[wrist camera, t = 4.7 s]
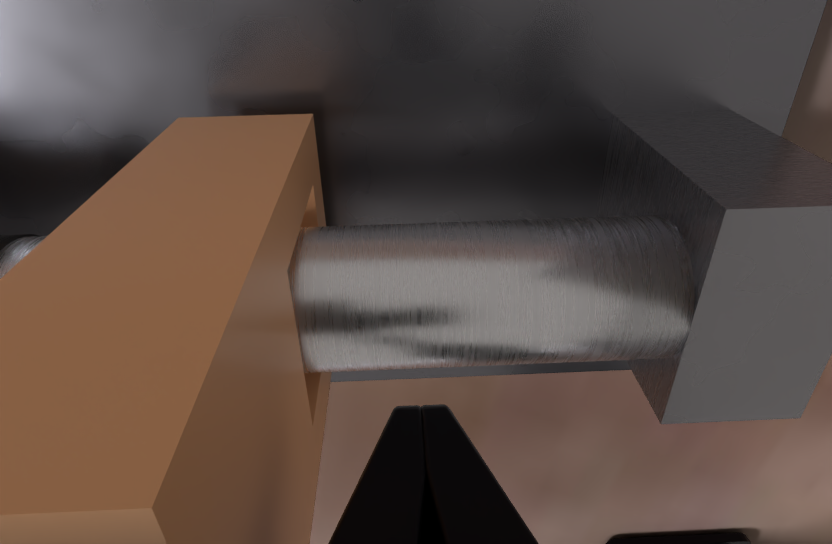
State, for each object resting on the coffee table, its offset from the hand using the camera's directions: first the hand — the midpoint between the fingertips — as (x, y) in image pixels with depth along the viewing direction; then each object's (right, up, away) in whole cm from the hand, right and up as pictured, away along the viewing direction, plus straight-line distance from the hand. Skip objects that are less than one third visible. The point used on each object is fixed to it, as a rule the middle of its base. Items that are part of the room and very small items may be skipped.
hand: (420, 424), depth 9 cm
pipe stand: (-4, +4, +7) cm, 9 cm away
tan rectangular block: (-4, +3, +6) cm, 8 cm away
